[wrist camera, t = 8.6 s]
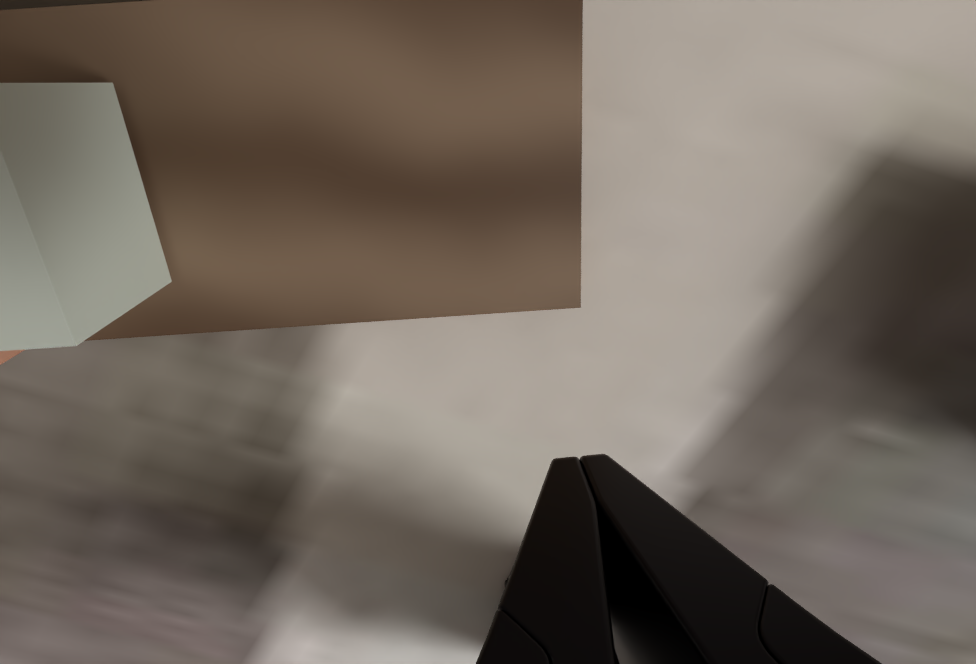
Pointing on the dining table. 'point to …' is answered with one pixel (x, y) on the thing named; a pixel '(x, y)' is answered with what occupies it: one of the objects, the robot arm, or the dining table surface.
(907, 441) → the dining table surface
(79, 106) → the pale sage green cube
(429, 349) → the dining table surface
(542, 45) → the brown boxy piece
